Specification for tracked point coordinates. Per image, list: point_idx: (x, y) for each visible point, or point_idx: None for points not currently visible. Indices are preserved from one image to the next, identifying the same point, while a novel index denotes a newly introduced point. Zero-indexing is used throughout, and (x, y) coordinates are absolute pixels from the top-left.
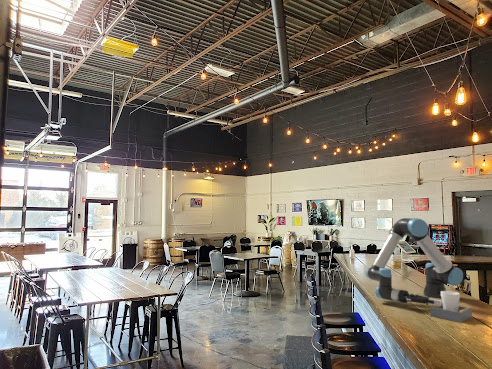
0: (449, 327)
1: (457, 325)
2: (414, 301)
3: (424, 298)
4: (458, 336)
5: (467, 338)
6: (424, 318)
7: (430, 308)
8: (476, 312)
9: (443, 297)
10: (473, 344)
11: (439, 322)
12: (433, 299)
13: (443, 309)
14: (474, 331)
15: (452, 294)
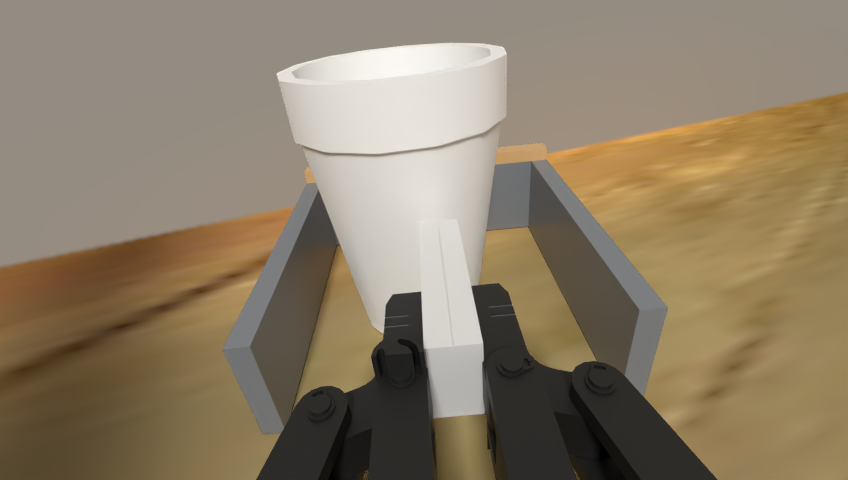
0: (737, 207)
1: (631, 207)
2: None
3: (510, 420)
4: (808, 153)
5: (774, 140)
6: (822, 387)
7: (659, 319)
8: (133, 270)
9: (494, 124)
10: (807, 120)
11: (726, 267)
12: (449, 280)
13: (587, 215)
14: (632, 160)
15: (476, 43)
